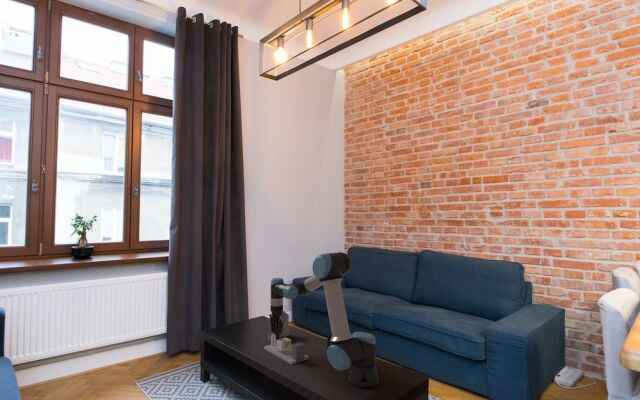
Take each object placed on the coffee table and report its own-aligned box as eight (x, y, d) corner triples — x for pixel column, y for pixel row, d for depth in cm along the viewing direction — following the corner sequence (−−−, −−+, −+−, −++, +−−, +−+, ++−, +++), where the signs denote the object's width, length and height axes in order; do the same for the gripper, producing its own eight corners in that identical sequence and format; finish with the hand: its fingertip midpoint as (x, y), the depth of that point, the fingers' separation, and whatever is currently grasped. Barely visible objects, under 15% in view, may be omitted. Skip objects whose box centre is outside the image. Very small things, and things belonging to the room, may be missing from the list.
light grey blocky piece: (308, 358, 202) (308, 342, 202) (291, 364, 194) (291, 348, 195) (280, 344, 223) (280, 329, 224) (264, 349, 216) (264, 334, 216)
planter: (281, 332, 245) (281, 303, 245) (288, 335, 239) (289, 306, 240) (261, 337, 234) (262, 308, 234) (268, 341, 228) (269, 310, 228)
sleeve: (290, 347, 209) (290, 339, 209) (281, 350, 205) (281, 342, 205) (285, 344, 213) (285, 337, 213) (276, 347, 208) (276, 339, 208)
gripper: (288, 305, 208) (287, 346, 208) (275, 301, 218) (275, 340, 218) (277, 308, 203) (277, 349, 203) (265, 303, 213) (264, 343, 213)
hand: (276, 344), depth 210 cm, fingers closed
